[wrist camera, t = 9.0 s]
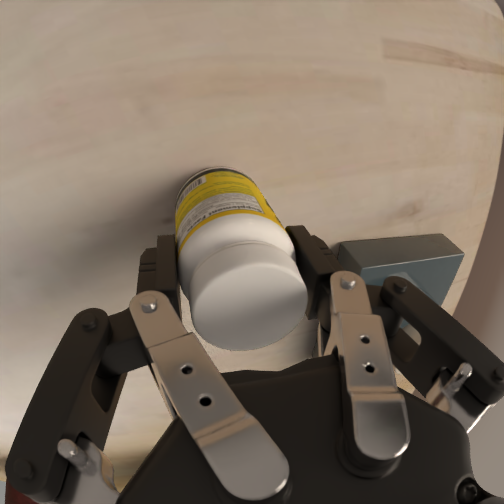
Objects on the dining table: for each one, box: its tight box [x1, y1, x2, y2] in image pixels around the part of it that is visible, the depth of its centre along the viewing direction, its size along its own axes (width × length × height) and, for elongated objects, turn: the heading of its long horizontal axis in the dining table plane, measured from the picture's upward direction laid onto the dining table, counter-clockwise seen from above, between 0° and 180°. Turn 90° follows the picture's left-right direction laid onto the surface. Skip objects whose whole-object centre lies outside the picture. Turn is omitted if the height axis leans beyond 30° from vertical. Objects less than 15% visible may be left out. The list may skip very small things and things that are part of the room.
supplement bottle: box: [175, 167, 308, 351], centre depth 14 cm, size 5×5×8 cm
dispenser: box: [312, 234, 464, 358], centre depth 23 cm, size 12×10×5 cm
